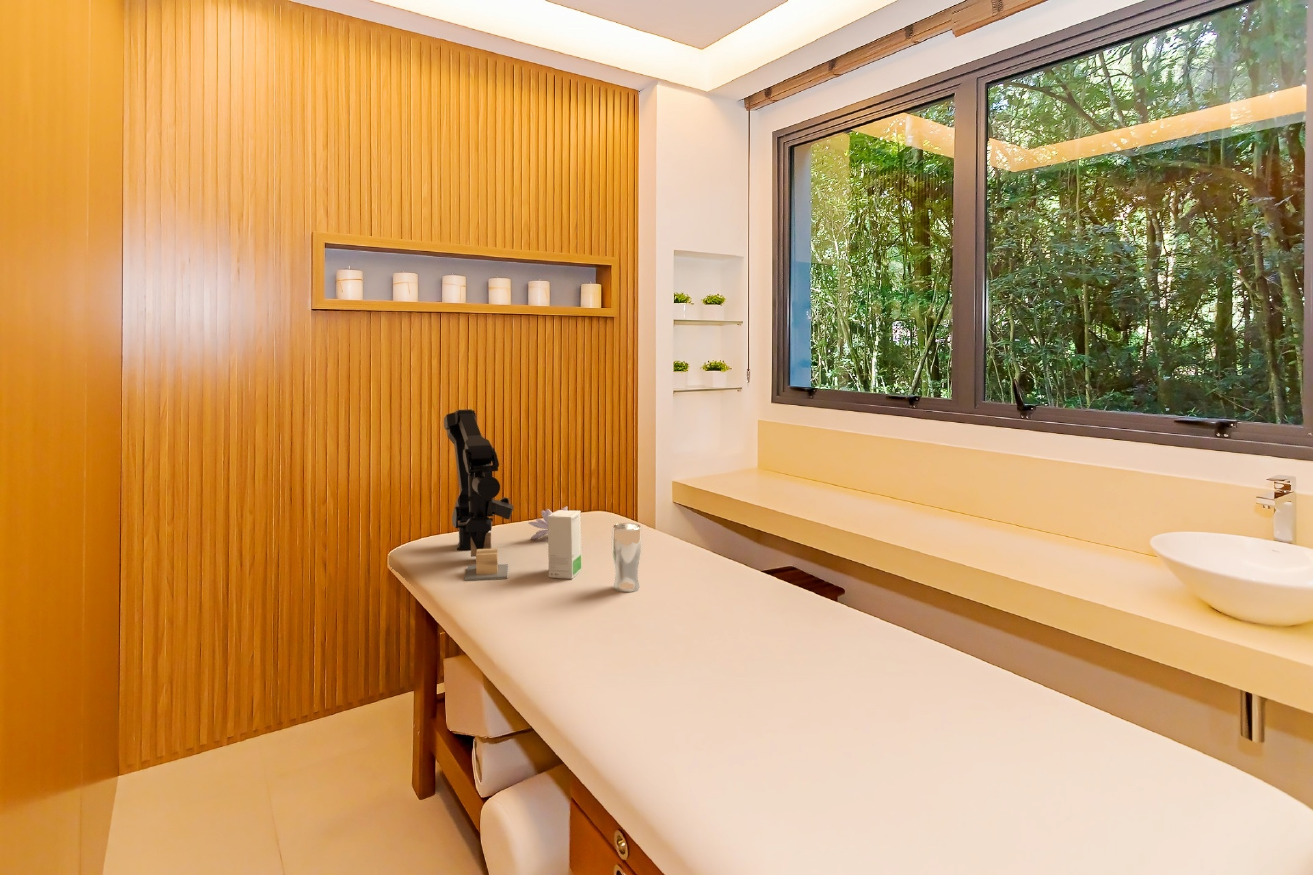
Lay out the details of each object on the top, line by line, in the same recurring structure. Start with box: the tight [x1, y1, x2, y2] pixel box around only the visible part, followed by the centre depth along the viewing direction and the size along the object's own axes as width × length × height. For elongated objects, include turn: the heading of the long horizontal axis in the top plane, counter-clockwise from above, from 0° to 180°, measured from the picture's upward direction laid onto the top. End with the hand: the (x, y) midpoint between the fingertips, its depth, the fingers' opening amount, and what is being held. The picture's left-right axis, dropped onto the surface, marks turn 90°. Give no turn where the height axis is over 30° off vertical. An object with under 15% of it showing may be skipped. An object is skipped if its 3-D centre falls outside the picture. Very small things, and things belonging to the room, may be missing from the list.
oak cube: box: [475, 547, 499, 575], centre depth 181 cm, size 5×5×5 cm
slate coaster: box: [464, 563, 509, 582], centre depth 181 cm, size 10×10×1 cm
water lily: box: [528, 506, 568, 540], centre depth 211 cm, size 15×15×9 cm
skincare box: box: [547, 509, 583, 580], centre depth 181 cm, size 8×7×16 cm
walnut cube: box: [470, 531, 492, 558], centre depth 191 cm, size 5×5×5 cm
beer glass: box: [611, 522, 643, 593], centre depth 171 cm, size 7×7×15 cm
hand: (481, 549), depth 191 cm, fingers closed on walnut cube, 5 cm apart
